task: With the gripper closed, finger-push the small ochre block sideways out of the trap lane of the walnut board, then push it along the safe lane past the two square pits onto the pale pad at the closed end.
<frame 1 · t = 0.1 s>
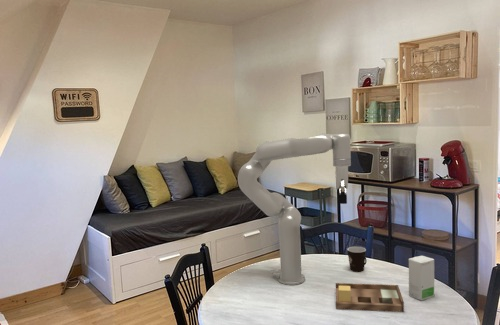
hand: (342, 201, 184), 37 cm above the table, tool pointing down, fingers open, 9 cm apart
coffee mug: (357, 271, 200), on the table
ochre block: (344, 298, 166), point 2 cm above the table, touching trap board
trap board: (367, 301, 168), on the table
skincare box: (421, 296, 171), on the table
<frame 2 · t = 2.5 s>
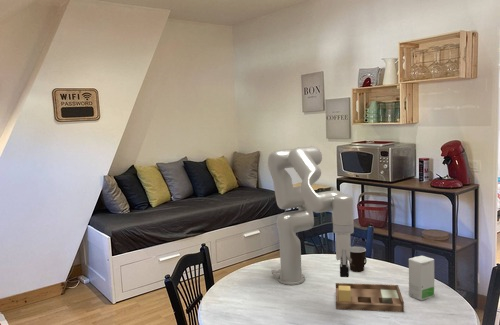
hand: (344, 275, 158), 15 cm above the table, tool pointing down, fingers closed
nothing on the table moved.
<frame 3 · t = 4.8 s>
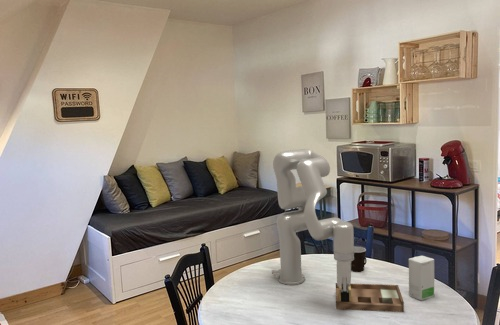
hand: (345, 300, 162), 4 cm above the table, tool pointing down, fingers closed
ochre block: (345, 298, 167), point 2 cm above the table, touching gripper
everything else where it was.
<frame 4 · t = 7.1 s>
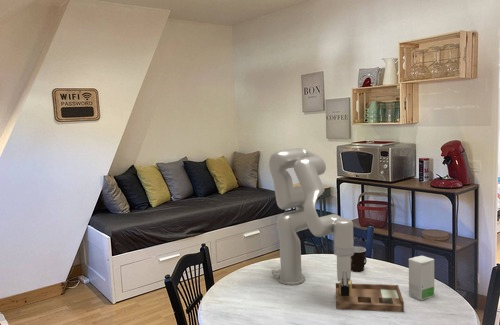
hand: (345, 295, 167), 4 cm above the table, tool pointing down, fingers closed
ochre block: (345, 292, 172), point 2 cm above the table, touching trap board
everything else where it was.
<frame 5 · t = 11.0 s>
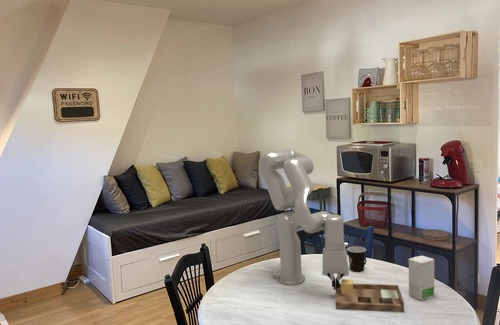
hand: (335, 288, 173), 4 cm above the table, tool pointing down, fingers closed
ochre block: (347, 292, 172), point 2 cm above the table, touching gripper, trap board
everything else where it was.
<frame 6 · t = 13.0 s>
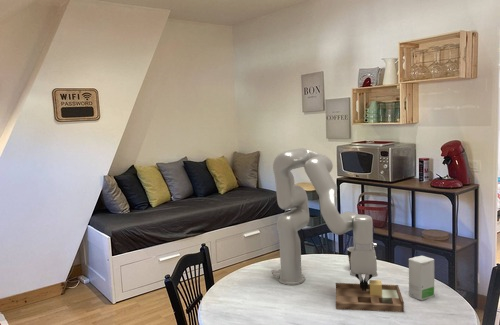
hand: (363, 289, 171), 4 cm above the table, tool pointing down, fingers closed
ochre block: (375, 293, 170), point 2 cm above the table, touching gripper
everything else where it was.
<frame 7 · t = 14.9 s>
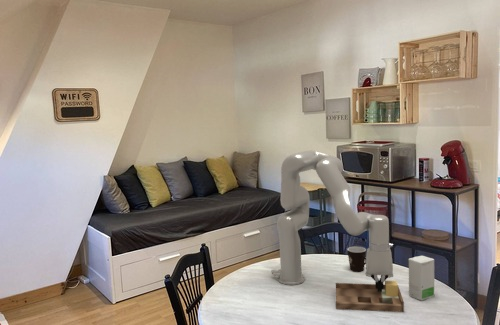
hand: (379, 290, 170), 4 cm above the table, tool pointing down, fingers closed
ochre block: (391, 293, 169), point 2 cm above the table, touching gripper, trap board
everything else where it was.
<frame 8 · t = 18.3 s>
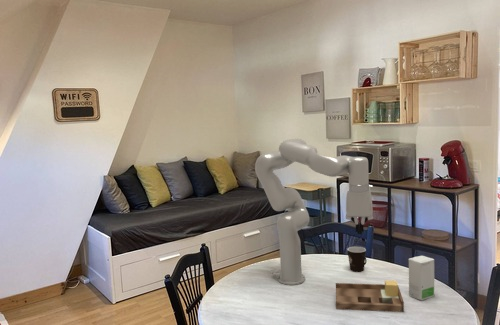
hand: (359, 233, 169), 27 cm above the table, tool pointing down, fingers closed
ochre block: (391, 293, 169), point 2 cm above the table, touching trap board
everything else where it was.
at the end: ochre block 0.6 cm from the target spot on the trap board, point 2.4 cm above the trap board's base; ochre block tilted 0°; ochre block moved 19.5 cm from its start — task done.
